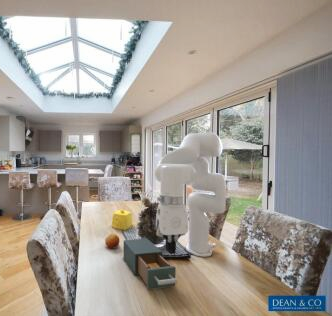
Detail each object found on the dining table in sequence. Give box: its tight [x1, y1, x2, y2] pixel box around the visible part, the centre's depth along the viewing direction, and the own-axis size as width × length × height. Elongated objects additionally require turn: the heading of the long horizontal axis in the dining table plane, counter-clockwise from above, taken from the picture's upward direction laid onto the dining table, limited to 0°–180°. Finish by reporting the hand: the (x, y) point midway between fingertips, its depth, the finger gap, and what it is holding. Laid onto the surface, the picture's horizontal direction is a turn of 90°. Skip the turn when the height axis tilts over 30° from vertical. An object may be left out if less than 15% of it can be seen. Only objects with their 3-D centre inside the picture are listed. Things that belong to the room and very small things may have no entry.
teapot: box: [111, 209, 133, 231], centre depth 148 cm, size 20×12×12 cm, turn 150°
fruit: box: [104, 233, 120, 249], centre depth 115 cm, size 8×8×8 cm
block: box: [147, 263, 159, 268], centre depth 84 cm, size 4×4×4 cm
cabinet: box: [123, 238, 163, 276], centre depth 96 cm, size 15×13×9 cm
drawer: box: [137, 254, 178, 290], centre depth 83 cm, size 18×11×7 cm, turn 12°
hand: (170, 252), depth 72 cm, fingers closed
